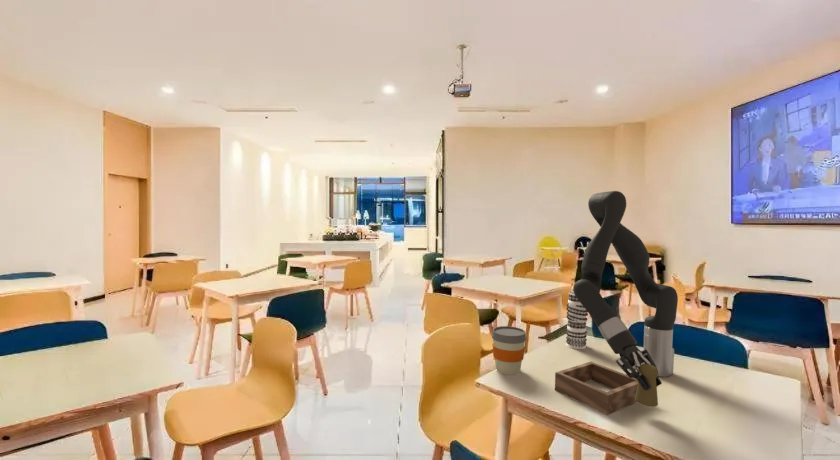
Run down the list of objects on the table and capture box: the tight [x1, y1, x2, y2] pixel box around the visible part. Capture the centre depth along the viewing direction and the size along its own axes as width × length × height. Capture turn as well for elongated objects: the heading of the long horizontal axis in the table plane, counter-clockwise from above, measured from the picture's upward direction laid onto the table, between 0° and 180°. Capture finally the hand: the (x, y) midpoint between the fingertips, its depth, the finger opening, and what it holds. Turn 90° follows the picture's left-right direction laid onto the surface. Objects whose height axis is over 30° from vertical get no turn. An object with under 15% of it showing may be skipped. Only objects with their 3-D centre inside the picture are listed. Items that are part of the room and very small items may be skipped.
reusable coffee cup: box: [491, 325, 527, 376], centre depth 152 cm, size 13×13×15 cm
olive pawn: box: [635, 363, 659, 408], centre depth 119 cm, size 6×6×11 cm
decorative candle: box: [565, 289, 589, 350], centre depth 179 cm, size 9×9×25 cm
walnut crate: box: [554, 361, 638, 416], centre depth 133 cm, size 19×19×6 cm
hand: (653, 386), depth 117 cm, fingers closed on olive pawn, 5 cm apart
